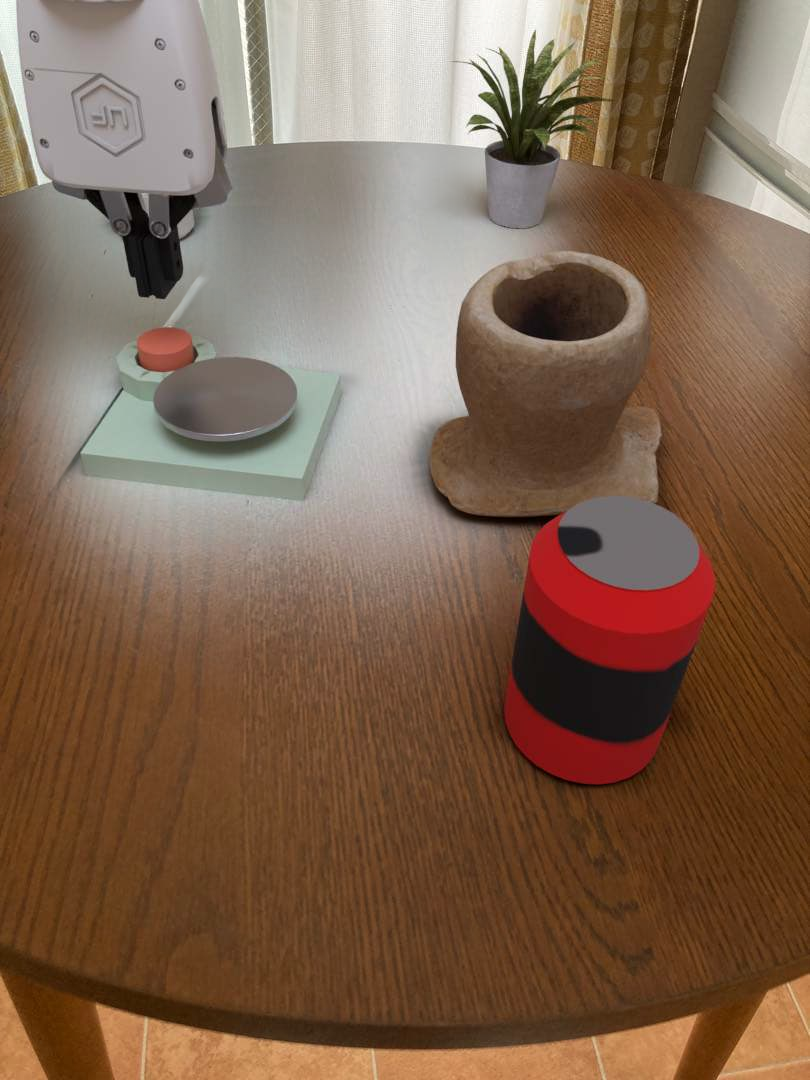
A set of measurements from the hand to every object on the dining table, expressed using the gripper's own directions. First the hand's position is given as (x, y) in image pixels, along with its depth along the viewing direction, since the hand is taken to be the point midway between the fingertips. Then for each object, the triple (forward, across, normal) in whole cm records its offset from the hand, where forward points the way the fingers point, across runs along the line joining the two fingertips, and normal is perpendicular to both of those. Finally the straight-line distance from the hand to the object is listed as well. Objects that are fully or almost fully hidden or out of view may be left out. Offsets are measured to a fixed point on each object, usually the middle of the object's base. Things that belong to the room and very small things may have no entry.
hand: (159, 288), depth 59 cm
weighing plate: (+5, +5, -4) cm, 8 cm away
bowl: (+8, -11, +27) cm, 30 cm away
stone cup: (+9, +26, -5) cm, 28 cm away
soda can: (+9, +28, -23) cm, 38 cm away
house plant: (+9, +21, +36) cm, 42 cm away
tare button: (+5, 0, 0) cm, 5 cm away
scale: (+9, +4, -3) cm, 10 cm away
